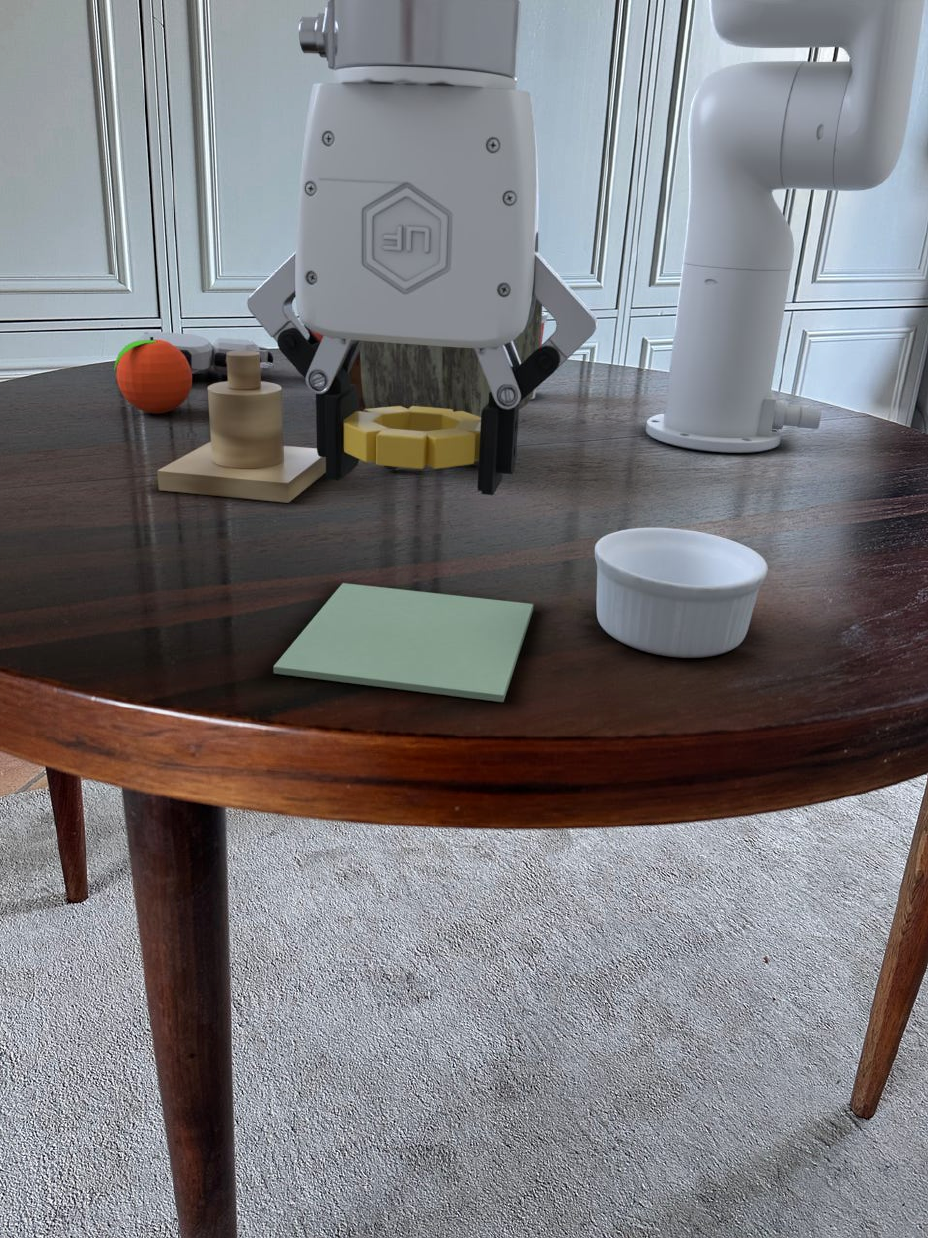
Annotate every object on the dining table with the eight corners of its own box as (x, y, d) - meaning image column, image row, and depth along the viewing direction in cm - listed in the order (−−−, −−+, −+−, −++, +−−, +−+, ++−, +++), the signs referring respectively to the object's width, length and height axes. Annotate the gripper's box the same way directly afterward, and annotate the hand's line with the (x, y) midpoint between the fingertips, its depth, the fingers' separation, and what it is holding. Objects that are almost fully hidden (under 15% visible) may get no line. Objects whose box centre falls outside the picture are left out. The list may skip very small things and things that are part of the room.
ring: (496, 440, 49) (497, 412, 49) (472, 474, 43) (473, 442, 43) (368, 429, 50) (368, 401, 50) (327, 461, 44) (327, 429, 44)
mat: (533, 610, 55) (533, 603, 55) (503, 702, 45) (503, 695, 45) (342, 589, 57) (342, 582, 56) (273, 673, 47) (273, 666, 47)
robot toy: (269, 374, 120) (140, 365, 116) (271, 336, 118) (139, 325, 115) (275, 395, 109) (132, 385, 105) (277, 353, 108) (131, 341, 104)
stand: (331, 467, 80) (329, 347, 76) (288, 503, 71) (284, 368, 67) (215, 457, 82) (207, 338, 78) (158, 490, 73) (147, 358, 69)
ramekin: (716, 595, 58) (727, 525, 56) (783, 663, 50) (798, 583, 48) (569, 599, 57) (576, 527, 55) (614, 669, 49) (624, 587, 47)
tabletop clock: (447, 437, 91) (458, 135, 81) (537, 453, 87) (560, 137, 77) (359, 472, 79) (358, 123, 69) (458, 491, 75) (473, 125, 65)
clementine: (144, 426, 90) (136, 346, 87) (95, 414, 94) (86, 337, 91) (209, 412, 97) (205, 337, 94) (161, 402, 100) (155, 329, 97)
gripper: (184, 33, 38) (212, 484, 45) (638, 44, 35) (591, 521, 43) (257, 58, 45) (271, 446, 52) (643, 68, 42) (602, 476, 49)
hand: (415, 476), depth 47 cm, fingers closed on ring, 6 cm apart
